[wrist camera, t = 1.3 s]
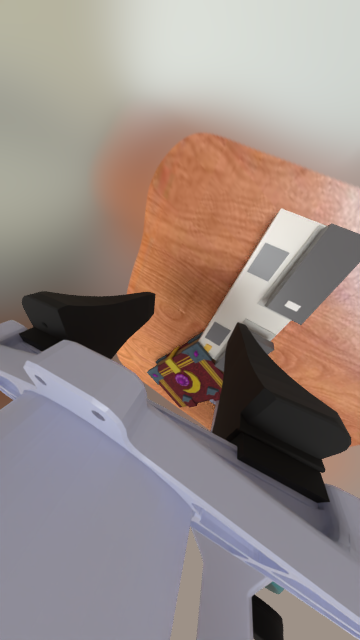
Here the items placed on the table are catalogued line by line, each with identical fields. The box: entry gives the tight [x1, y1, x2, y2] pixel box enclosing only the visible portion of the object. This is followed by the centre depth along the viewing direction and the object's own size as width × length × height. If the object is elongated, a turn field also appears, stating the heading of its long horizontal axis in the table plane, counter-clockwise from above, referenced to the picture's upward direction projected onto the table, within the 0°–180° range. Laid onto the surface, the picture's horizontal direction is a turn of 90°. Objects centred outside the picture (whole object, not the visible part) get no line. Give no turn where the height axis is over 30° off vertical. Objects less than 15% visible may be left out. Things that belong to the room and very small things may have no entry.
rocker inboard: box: [214, 330, 274, 372], centre depth 19 cm, size 4×8×1 cm, turn 157°
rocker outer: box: [264, 224, 360, 325], centre depth 13 cm, size 4×8×1 cm, turn 157°
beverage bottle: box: [252, 582, 284, 640], centre depth 22 cm, size 6×7×20 cm
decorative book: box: [147, 332, 224, 407], centre depth 28 cm, size 11×16×5 cm
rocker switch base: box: [198, 209, 326, 360], centre depth 19 cm, size 8×20×3 cm, turn 157°
